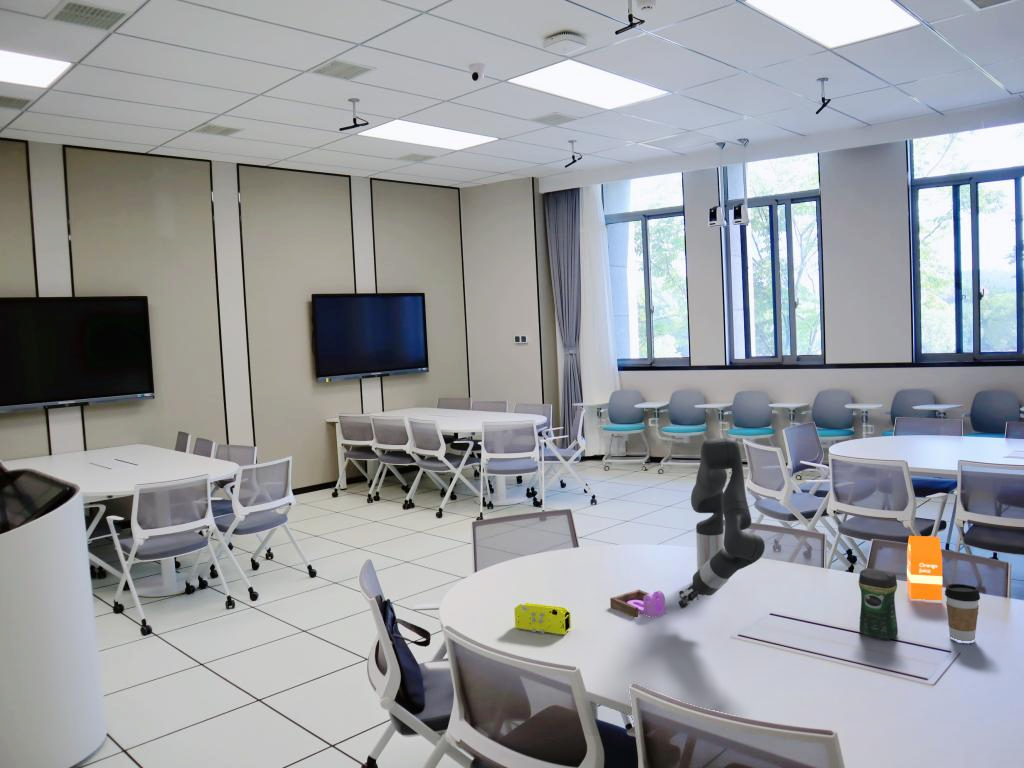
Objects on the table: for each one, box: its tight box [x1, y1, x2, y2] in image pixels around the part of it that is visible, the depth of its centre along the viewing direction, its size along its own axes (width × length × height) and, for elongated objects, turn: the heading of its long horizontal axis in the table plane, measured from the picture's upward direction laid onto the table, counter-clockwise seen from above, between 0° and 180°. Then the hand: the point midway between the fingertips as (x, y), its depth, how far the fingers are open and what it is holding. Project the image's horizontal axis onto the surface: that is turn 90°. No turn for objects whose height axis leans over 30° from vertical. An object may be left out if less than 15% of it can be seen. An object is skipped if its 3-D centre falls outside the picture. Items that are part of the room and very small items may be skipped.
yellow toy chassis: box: [514, 602, 572, 636], centre depth 231 cm, size 16×6×8 cm, turn 66°
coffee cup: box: [944, 583, 981, 641], centre depth 212 cm, size 8×8×15 cm
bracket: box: [627, 590, 666, 619], centre depth 244 cm, size 13×6×7 cm, turn 34°
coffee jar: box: [858, 567, 899, 641], centre depth 218 cm, size 10×8×19 cm
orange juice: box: [906, 535, 943, 601], centre depth 244 cm, size 8×9×20 cm
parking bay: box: [609, 589, 650, 618], centre depth 246 cm, size 12×12×3 cm
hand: (681, 605), depth 230 cm, fingers closed
